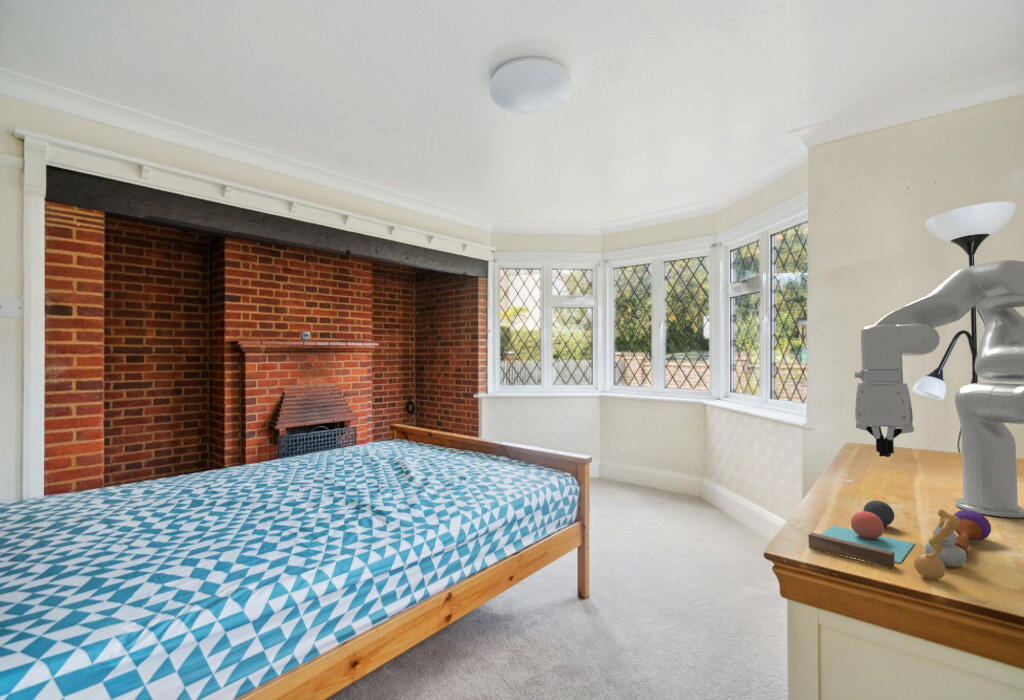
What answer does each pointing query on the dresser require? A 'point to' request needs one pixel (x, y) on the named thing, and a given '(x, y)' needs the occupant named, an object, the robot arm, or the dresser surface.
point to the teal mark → (872, 541)
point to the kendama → (971, 528)
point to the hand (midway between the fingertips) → (885, 455)
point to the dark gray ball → (880, 511)
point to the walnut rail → (852, 550)
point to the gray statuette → (948, 550)
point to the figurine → (936, 548)
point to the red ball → (867, 525)
